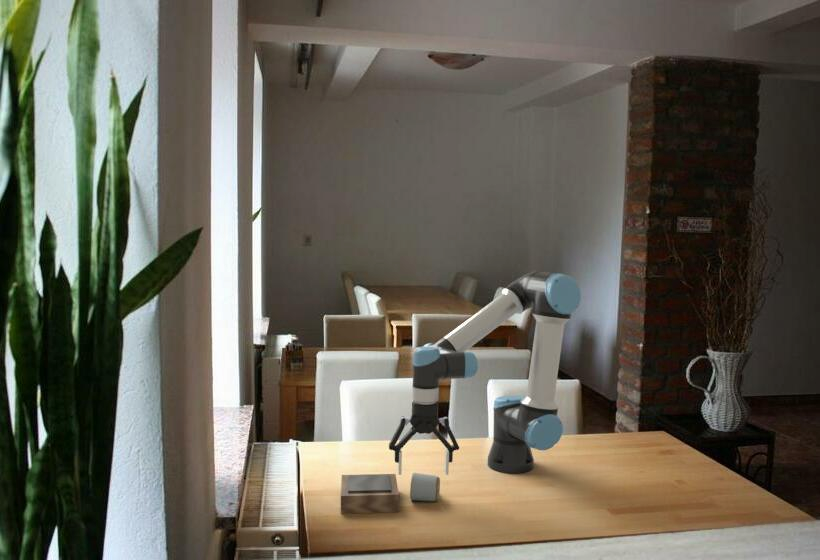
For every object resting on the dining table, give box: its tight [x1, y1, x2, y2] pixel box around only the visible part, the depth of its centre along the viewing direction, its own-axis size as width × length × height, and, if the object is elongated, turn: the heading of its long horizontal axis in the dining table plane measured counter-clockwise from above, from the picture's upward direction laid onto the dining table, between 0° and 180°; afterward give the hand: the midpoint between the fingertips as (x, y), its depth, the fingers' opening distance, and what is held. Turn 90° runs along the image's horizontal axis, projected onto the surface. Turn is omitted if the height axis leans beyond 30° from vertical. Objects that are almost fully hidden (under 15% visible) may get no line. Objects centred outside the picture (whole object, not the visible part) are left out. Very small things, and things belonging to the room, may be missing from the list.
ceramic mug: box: [409, 472, 441, 502], centre depth 212 cm, size 11×8×8 cm
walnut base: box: [340, 473, 400, 514], centre depth 209 cm, size 16×16×6 cm
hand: (423, 473), depth 211 cm, fingers open, 13 cm apart
